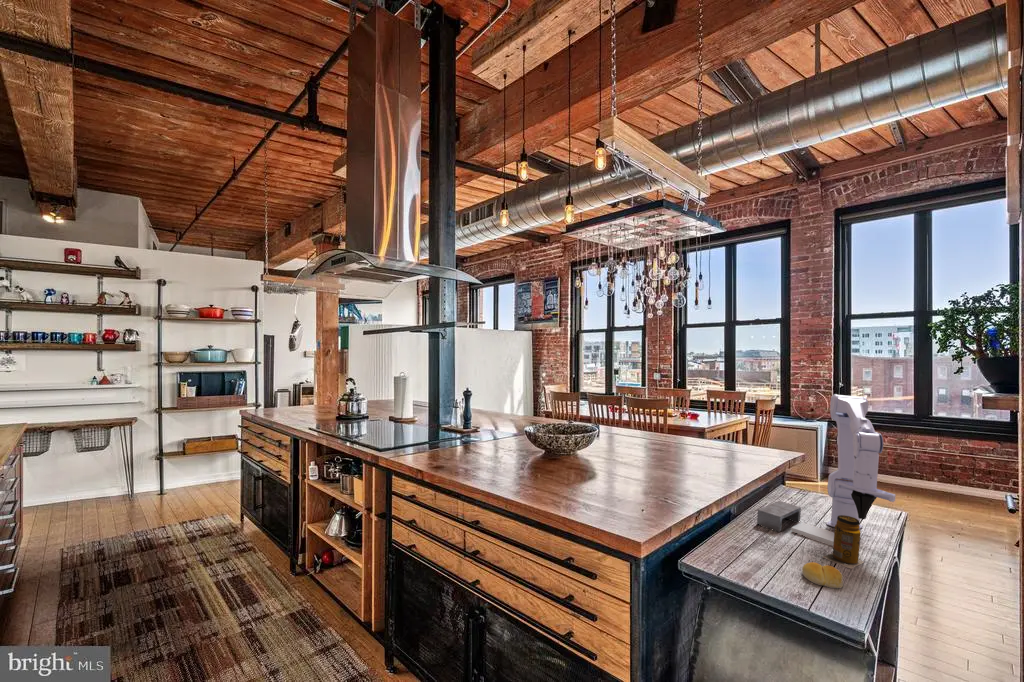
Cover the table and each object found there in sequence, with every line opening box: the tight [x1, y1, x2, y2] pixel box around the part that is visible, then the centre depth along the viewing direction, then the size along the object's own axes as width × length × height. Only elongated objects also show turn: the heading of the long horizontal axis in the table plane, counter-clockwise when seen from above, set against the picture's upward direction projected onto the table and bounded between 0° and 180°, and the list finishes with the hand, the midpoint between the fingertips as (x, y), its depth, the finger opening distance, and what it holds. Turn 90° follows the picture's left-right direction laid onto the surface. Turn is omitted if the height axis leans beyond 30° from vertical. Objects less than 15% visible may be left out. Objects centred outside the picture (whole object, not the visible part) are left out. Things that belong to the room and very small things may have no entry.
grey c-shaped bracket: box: [756, 500, 802, 533], centre depth 161 cm, size 16×7×5 cm, turn 128°
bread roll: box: [801, 561, 844, 589], centre depth 124 cm, size 8×9×4 cm
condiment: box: [822, 515, 865, 570], centre depth 136 cm, size 7×8×12 cm
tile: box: [791, 521, 834, 547], centre depth 152 cm, size 8×13×2 cm, turn 39°
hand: (862, 518), depth 143 cm, fingers closed
